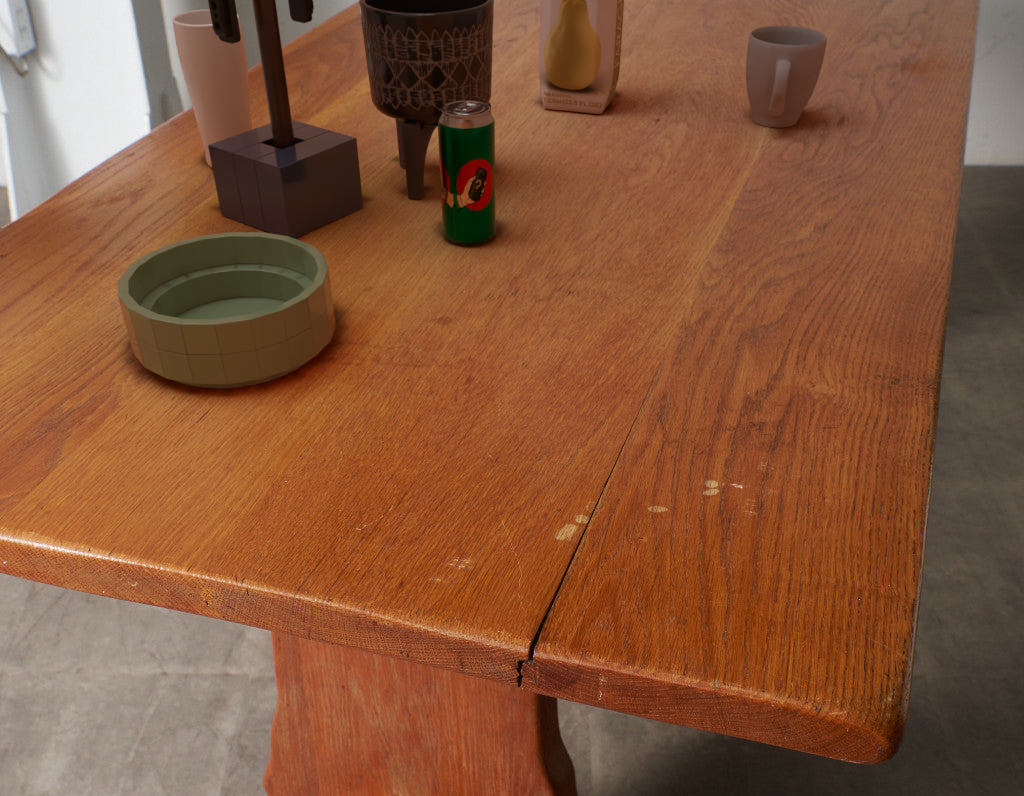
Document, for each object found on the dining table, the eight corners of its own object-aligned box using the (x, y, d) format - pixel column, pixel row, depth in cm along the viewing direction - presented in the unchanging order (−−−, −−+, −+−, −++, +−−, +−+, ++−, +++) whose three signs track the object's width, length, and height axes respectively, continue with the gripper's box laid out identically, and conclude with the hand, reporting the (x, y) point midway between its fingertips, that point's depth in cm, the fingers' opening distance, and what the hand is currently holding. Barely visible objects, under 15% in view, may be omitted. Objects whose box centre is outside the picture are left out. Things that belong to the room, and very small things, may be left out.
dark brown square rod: (278, 211, 101) (244, -8, 88) (292, 205, 102) (261, -12, 90) (295, 217, 100) (263, -4, 87) (310, 211, 101) (281, -8, 89)
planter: (351, 177, 108) (332, -5, 97) (447, 150, 115) (440, -24, 103) (422, 214, 101) (410, 21, 89) (520, 182, 107) (521, -1, 96)
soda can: (505, 232, 97) (505, 104, 90) (478, 252, 94) (474, 120, 86) (461, 221, 99) (457, 95, 92) (432, 240, 96) (425, 111, 88)
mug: (740, 106, 127) (752, 23, 120) (812, 111, 125) (828, 27, 119) (732, 138, 118) (745, 50, 111) (810, 144, 116) (826, 55, 110)
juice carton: (534, 111, 125) (536, -115, 110) (551, 92, 131) (555, -125, 116) (607, 118, 123) (620, -111, 108) (621, 98, 129) (635, -121, 114)
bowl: (95, 353, 80) (74, 283, 76) (247, 281, 89) (235, 216, 85) (226, 420, 72) (210, 346, 68) (376, 334, 82) (369, 265, 78)
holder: (221, 215, 100) (207, 144, 96) (295, 184, 107) (285, 117, 102) (290, 240, 96) (279, 168, 91) (363, 207, 102) (356, 137, 97)
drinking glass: (250, 177, 108) (225, 26, 99) (190, 173, 109) (159, 24, 100) (271, 155, 113) (249, 9, 104) (214, 151, 114) (187, 7, 105)
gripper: (270, -197, 86) (296, 9, 97) (131, -184, 78) (175, 41, 88) (332, -192, 83) (352, 21, 93) (194, -178, 74) (233, 56, 84)
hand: (266, 31), depth 91 cm, fingers open, 8 cm apart
